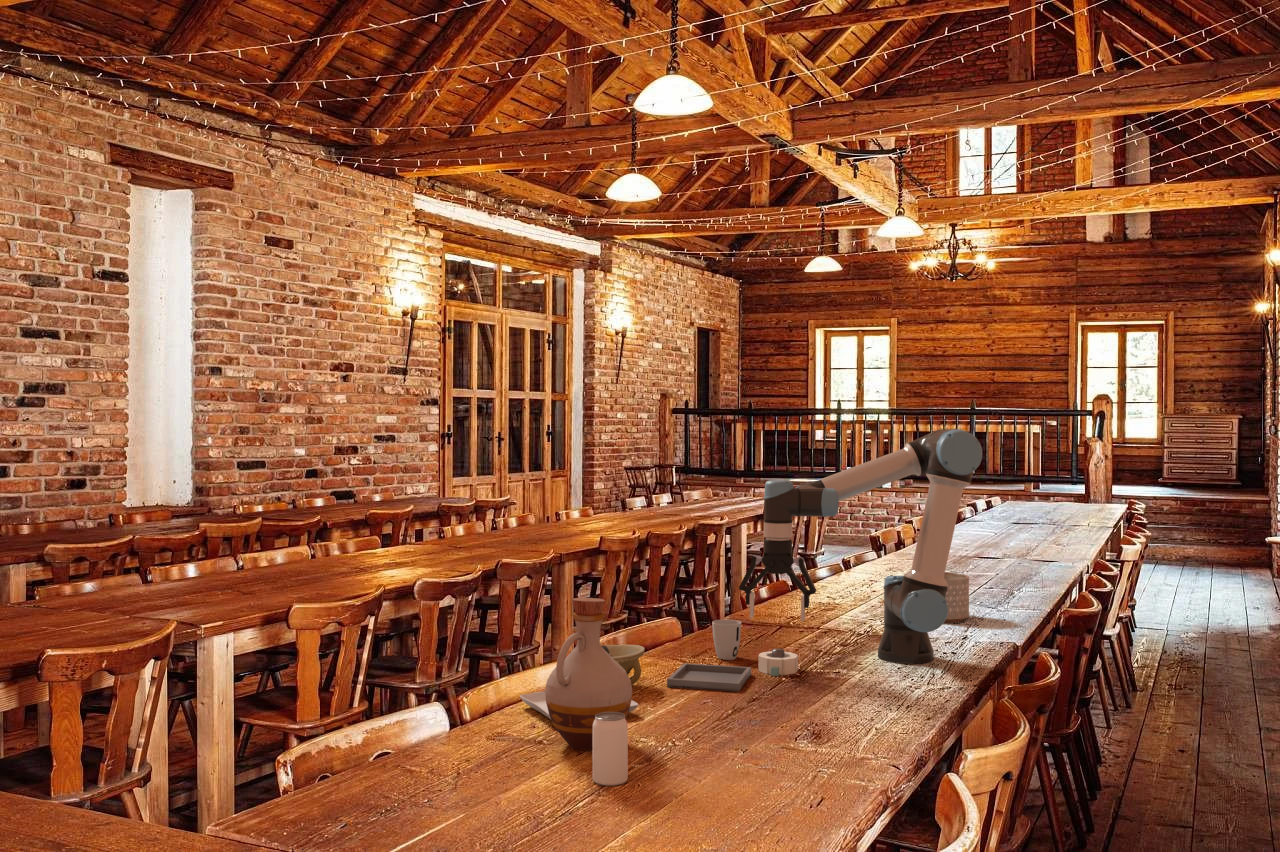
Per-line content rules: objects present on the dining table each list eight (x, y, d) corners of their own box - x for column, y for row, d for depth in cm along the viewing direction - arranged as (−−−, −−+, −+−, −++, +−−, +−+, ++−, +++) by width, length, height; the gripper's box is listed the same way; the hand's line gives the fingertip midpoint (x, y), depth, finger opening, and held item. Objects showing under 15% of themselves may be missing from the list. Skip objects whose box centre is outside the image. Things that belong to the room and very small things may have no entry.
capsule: (785, 669, 286) (785, 648, 286) (783, 672, 283) (783, 651, 283) (773, 668, 287) (773, 648, 287) (771, 671, 284) (771, 650, 284)
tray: (751, 674, 280) (751, 667, 280) (738, 691, 263) (738, 683, 263) (683, 670, 285) (683, 663, 285) (667, 687, 268) (667, 679, 267)
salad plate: (553, 731, 231) (553, 715, 231) (517, 707, 250) (517, 693, 250) (641, 718, 241) (641, 703, 241) (600, 696, 260) (600, 682, 260)
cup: (739, 661, 295) (739, 625, 295) (710, 660, 297) (710, 624, 297) (742, 655, 303) (742, 620, 303) (714, 654, 305) (714, 619, 305)
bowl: (656, 681, 273) (656, 644, 273) (625, 698, 257) (625, 658, 256) (594, 675, 280) (594, 638, 280) (561, 691, 264) (561, 652, 264)
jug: (595, 766, 206) (595, 610, 206) (521, 751, 216) (521, 602, 216) (648, 740, 223) (648, 595, 223) (578, 727, 233) (578, 588, 232)
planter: (975, 617, 362) (975, 574, 361) (959, 626, 346) (959, 581, 346) (921, 611, 372) (921, 570, 371) (903, 620, 356) (903, 576, 356)
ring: (799, 667, 289) (799, 652, 288) (793, 677, 277) (793, 661, 277) (762, 665, 291) (762, 650, 291) (755, 674, 280) (755, 659, 280)
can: (591, 775, 201) (591, 711, 201) (626, 774, 202) (626, 710, 202) (593, 787, 195) (593, 721, 195) (628, 786, 195) (628, 720, 195)
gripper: (827, 538, 285) (826, 619, 285) (734, 535, 292) (733, 613, 292) (824, 542, 278) (823, 624, 278) (728, 538, 285) (728, 618, 285)
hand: (777, 618), depth 285 cm, fingers open, 13 cm apart
